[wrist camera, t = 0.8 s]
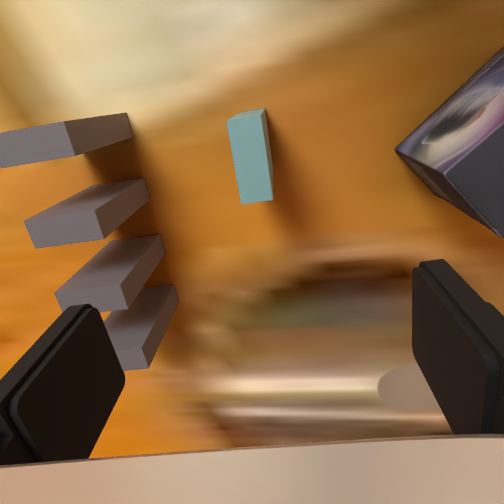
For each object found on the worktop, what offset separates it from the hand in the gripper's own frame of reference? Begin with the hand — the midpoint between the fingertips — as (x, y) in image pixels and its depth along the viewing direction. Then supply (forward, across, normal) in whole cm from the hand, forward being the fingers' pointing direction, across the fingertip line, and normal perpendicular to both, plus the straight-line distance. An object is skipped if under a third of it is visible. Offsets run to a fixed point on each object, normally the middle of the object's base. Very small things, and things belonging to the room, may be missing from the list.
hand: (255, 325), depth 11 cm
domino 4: (+23, +14, +11) cm, 29 cm away
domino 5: (+23, 0, -2) cm, 23 cm away
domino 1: (+23, +14, -5) cm, 27 cm away
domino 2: (+23, +14, 0) cm, 27 cm away
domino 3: (+23, +14, +6) cm, 27 cm away
